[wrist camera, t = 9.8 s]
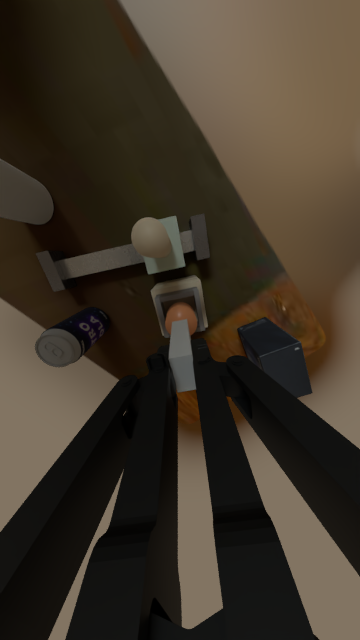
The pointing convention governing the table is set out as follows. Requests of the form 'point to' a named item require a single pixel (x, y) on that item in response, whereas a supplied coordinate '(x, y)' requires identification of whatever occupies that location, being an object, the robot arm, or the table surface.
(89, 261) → the rail
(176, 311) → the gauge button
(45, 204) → the mug
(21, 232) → the table surface
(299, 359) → the small box
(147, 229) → the carriage
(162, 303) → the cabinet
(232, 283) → the table surface
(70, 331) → the beverage can
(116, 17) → the table surface
